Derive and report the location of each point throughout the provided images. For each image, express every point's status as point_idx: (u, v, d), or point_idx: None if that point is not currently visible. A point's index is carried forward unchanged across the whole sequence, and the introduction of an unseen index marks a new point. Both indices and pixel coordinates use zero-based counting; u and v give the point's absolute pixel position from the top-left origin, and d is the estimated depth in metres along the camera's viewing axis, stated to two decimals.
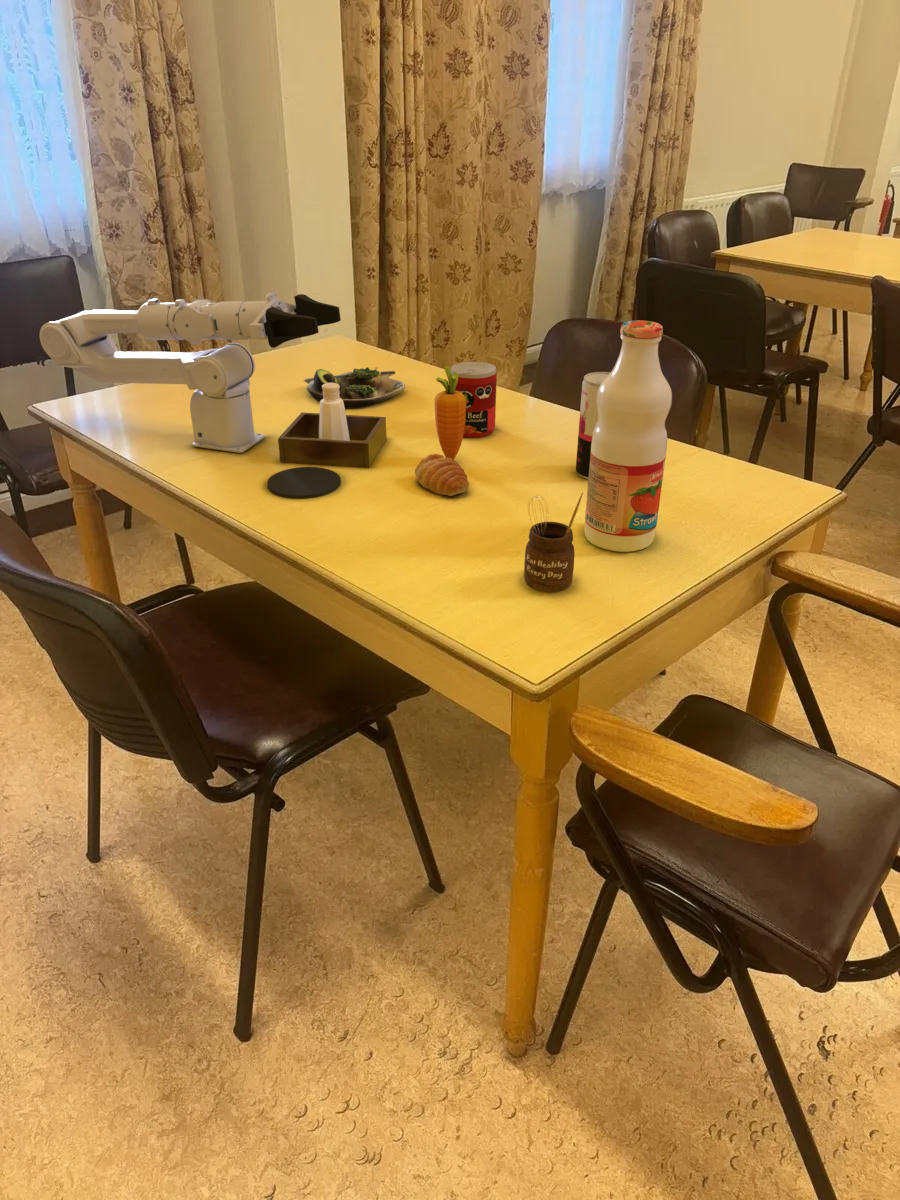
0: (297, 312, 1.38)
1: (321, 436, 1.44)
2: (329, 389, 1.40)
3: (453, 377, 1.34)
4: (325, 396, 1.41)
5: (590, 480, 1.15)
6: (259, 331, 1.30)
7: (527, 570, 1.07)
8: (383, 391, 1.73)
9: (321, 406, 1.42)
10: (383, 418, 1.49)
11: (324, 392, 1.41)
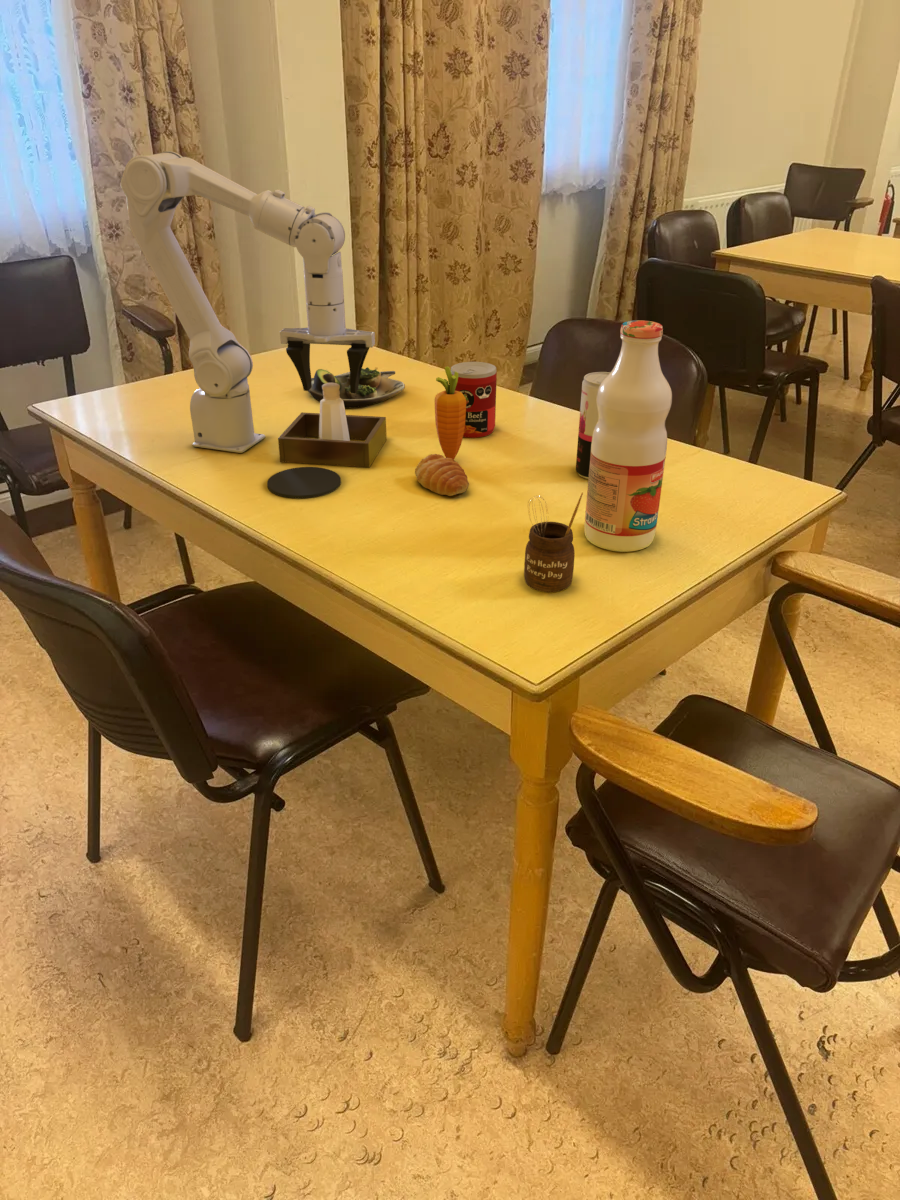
0: (351, 347, 1.37)
1: (321, 436, 1.44)
2: (329, 389, 1.40)
3: (453, 377, 1.34)
4: (325, 396, 1.41)
5: (590, 480, 1.15)
6: None
7: (527, 570, 1.07)
8: (383, 391, 1.73)
9: (321, 406, 1.42)
10: (383, 418, 1.49)
11: (324, 392, 1.41)
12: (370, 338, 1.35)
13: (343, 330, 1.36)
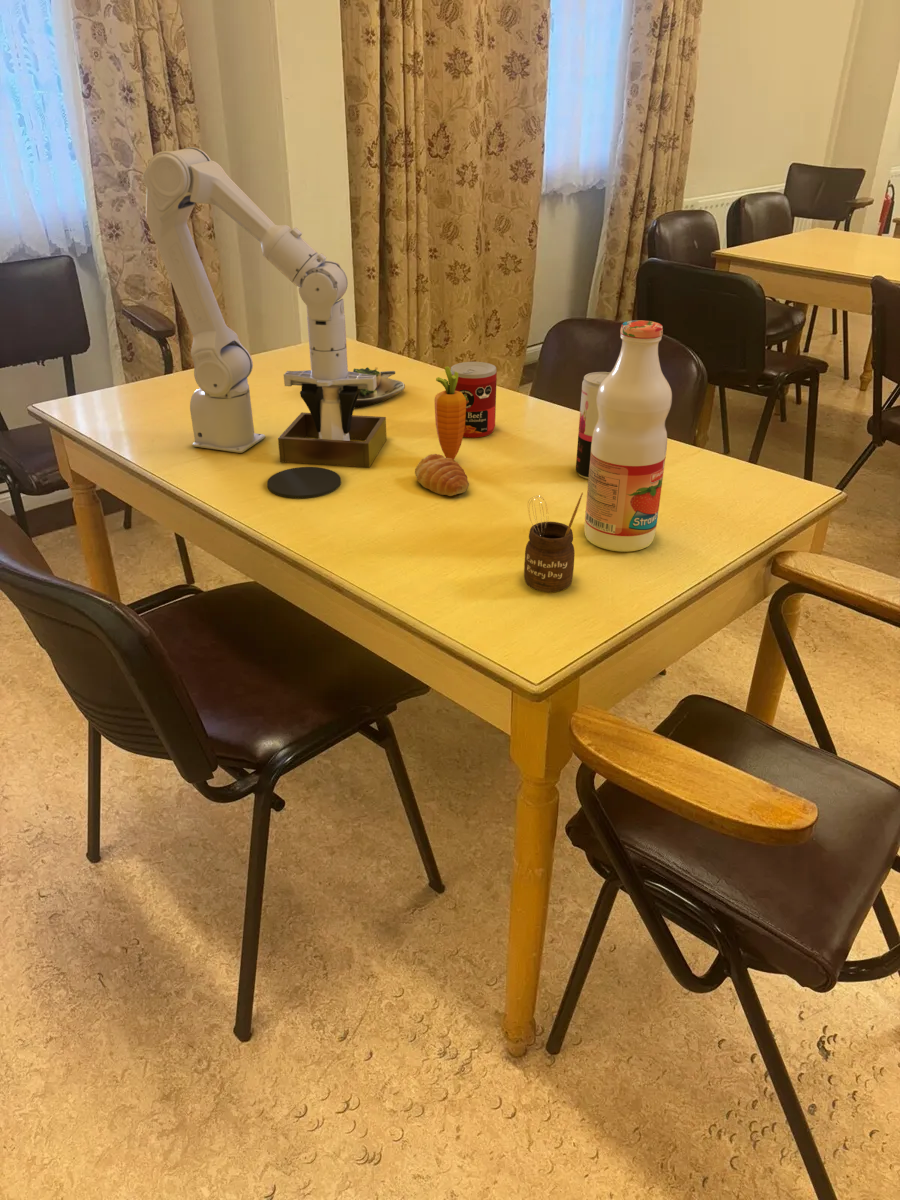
0: (343, 389, 1.41)
1: (321, 436, 1.44)
2: (329, 389, 1.40)
3: (453, 377, 1.34)
4: (325, 396, 1.41)
5: (590, 480, 1.15)
6: None
7: (527, 570, 1.07)
8: (383, 391, 1.73)
9: (321, 406, 1.42)
10: (383, 418, 1.49)
11: (324, 392, 1.41)
12: (372, 382, 1.39)
13: (345, 374, 1.39)
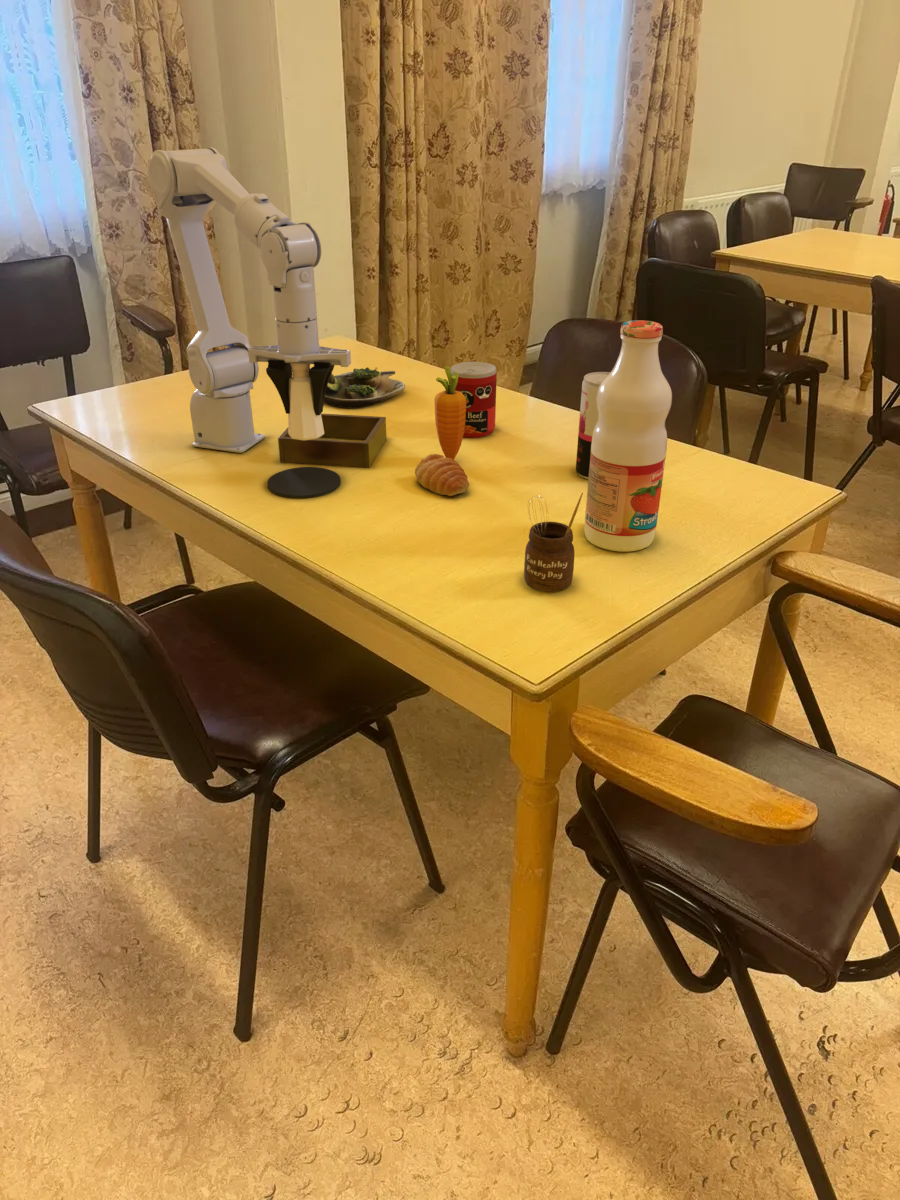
0: (314, 366, 1.27)
1: (290, 418, 1.31)
2: (298, 365, 1.27)
3: (453, 377, 1.34)
4: (294, 373, 1.28)
5: (590, 480, 1.15)
6: None
7: (527, 570, 1.07)
8: (383, 391, 1.73)
9: (290, 385, 1.29)
10: (383, 418, 1.49)
11: (293, 369, 1.27)
12: (345, 357, 1.25)
13: (316, 348, 1.26)
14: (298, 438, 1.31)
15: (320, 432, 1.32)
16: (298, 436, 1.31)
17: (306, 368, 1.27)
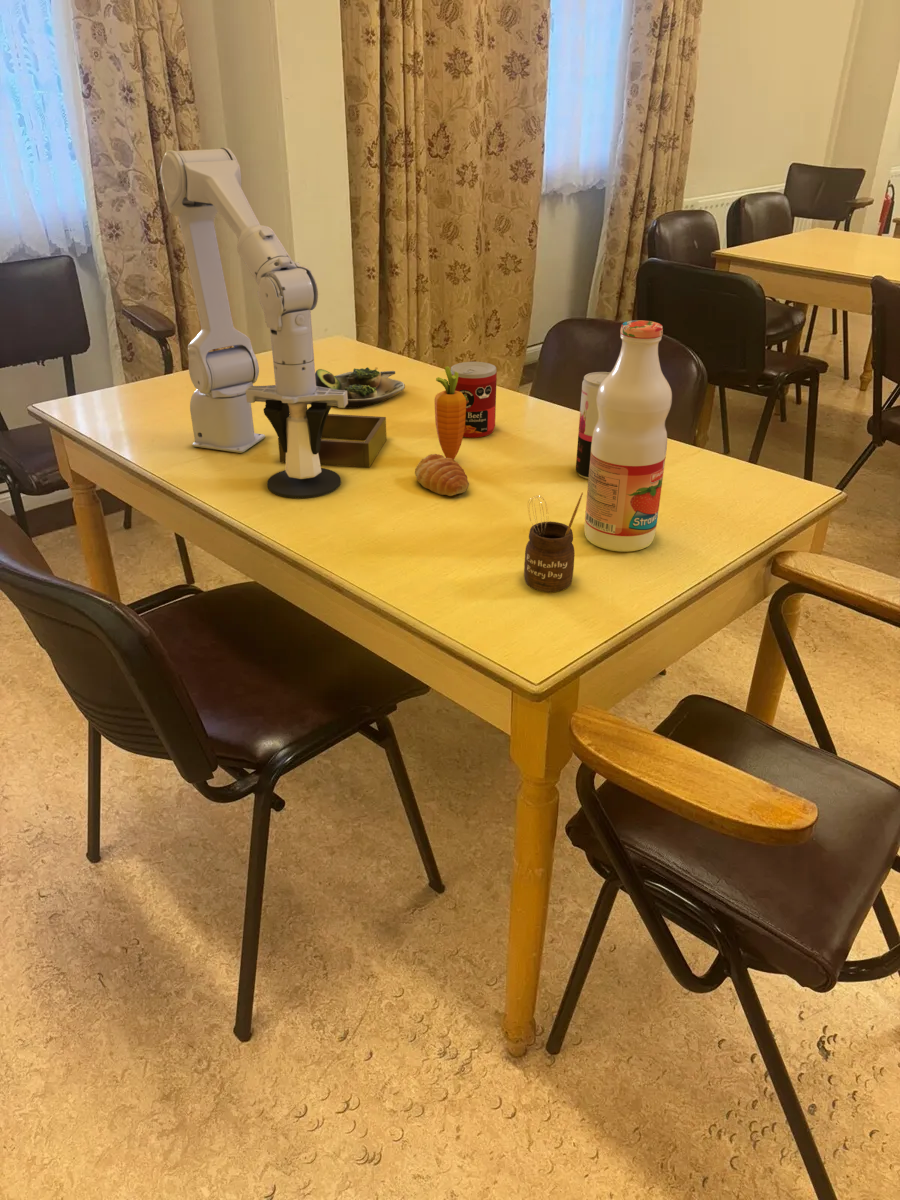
0: (311, 406, 1.28)
1: (288, 457, 1.31)
2: (296, 406, 1.28)
3: (453, 377, 1.34)
4: (291, 413, 1.28)
5: (590, 480, 1.15)
6: None
7: (527, 570, 1.07)
8: (383, 391, 1.73)
9: (287, 424, 1.29)
10: (383, 418, 1.49)
11: (290, 409, 1.28)
12: (342, 398, 1.26)
13: (313, 389, 1.27)
14: (295, 477, 1.32)
15: (317, 470, 1.33)
16: (296, 475, 1.32)
17: (303, 408, 1.28)
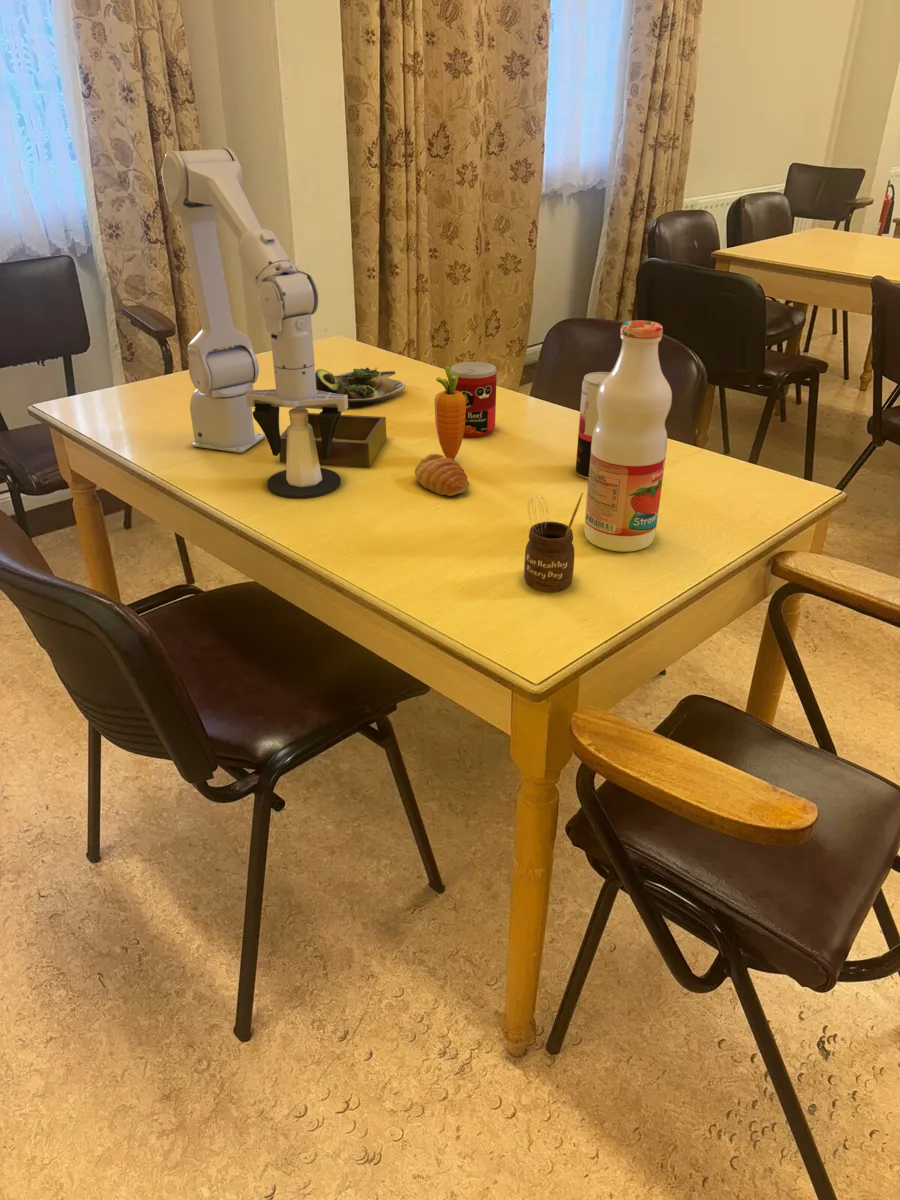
0: None
1: (289, 465, 1.32)
2: (296, 415, 1.28)
3: (453, 377, 1.34)
4: (292, 422, 1.29)
5: (590, 480, 1.15)
6: None
7: (527, 570, 1.07)
8: (383, 391, 1.73)
9: (288, 433, 1.30)
10: (383, 418, 1.49)
11: (291, 418, 1.29)
12: (342, 402, 1.26)
13: (313, 393, 1.27)
14: (296, 485, 1.33)
15: (318, 479, 1.34)
16: (296, 483, 1.32)
17: (304, 417, 1.29)
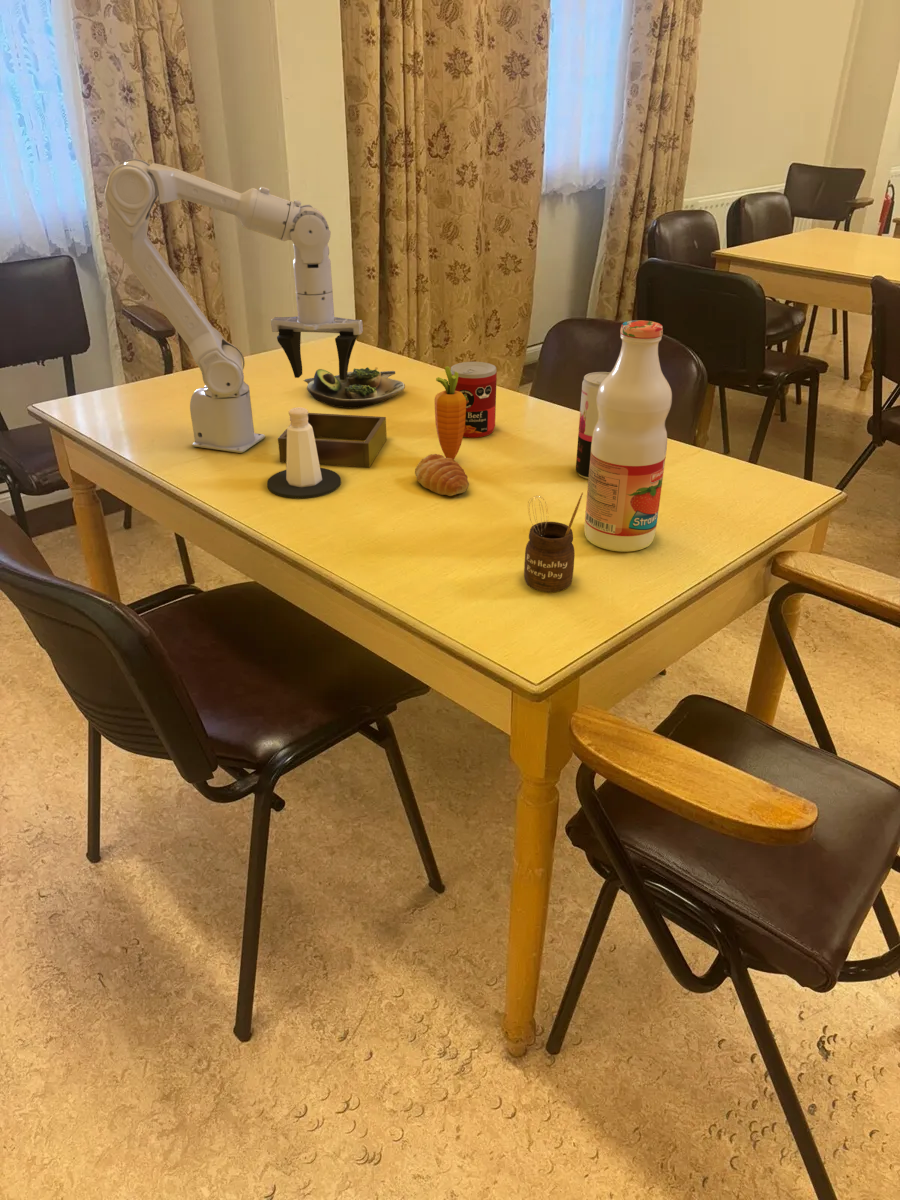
0: (339, 335, 1.42)
1: (289, 465, 1.32)
2: (296, 415, 1.28)
3: (453, 377, 1.34)
4: (292, 422, 1.29)
5: (590, 480, 1.15)
6: None
7: (527, 570, 1.07)
8: (383, 391, 1.73)
9: (288, 433, 1.30)
10: (383, 418, 1.49)
11: (291, 418, 1.29)
12: (357, 326, 1.40)
13: (332, 318, 1.41)
14: (296, 485, 1.33)
15: (318, 479, 1.34)
16: (296, 483, 1.32)
17: (304, 417, 1.29)
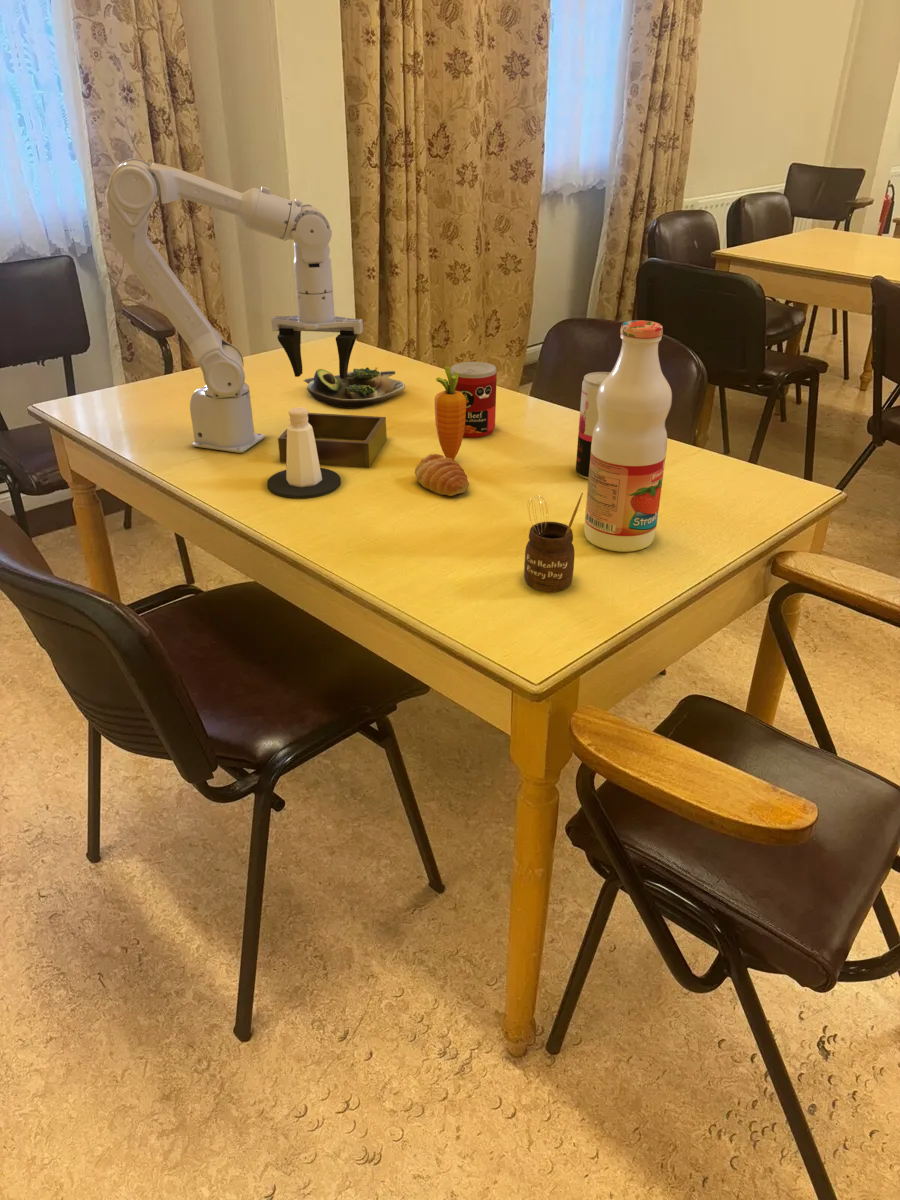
0: (340, 334, 1.43)
1: (289, 465, 1.32)
2: (296, 415, 1.28)
3: (453, 377, 1.34)
4: (292, 422, 1.29)
5: (590, 480, 1.15)
6: None
7: (527, 570, 1.07)
8: (383, 391, 1.73)
9: (288, 433, 1.30)
10: (383, 418, 1.49)
11: (291, 418, 1.29)
12: (358, 325, 1.41)
13: (332, 318, 1.41)
14: (296, 485, 1.33)
15: (318, 479, 1.34)
16: (296, 483, 1.32)
17: (304, 417, 1.29)
